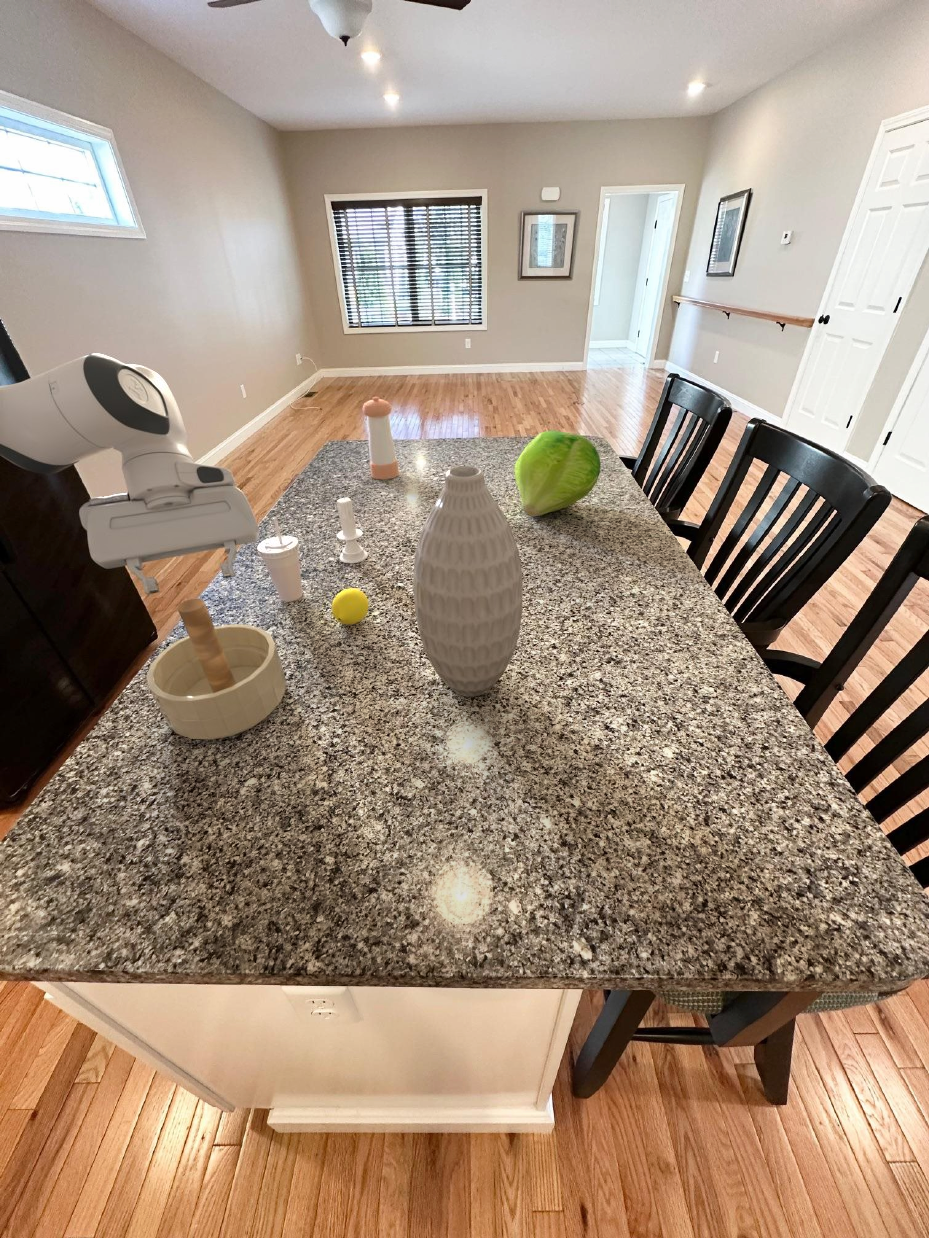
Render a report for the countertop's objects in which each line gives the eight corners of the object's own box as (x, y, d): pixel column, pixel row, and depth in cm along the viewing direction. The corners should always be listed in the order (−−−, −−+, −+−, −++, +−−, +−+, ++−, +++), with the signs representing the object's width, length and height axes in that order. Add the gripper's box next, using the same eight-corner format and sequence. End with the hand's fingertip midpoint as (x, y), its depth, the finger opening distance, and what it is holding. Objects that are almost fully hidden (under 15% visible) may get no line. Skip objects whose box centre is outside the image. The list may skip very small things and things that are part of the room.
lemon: (348, 606, 83) (342, 577, 80) (378, 611, 82) (373, 582, 79) (326, 631, 78) (319, 601, 75) (357, 636, 77) (352, 606, 74)
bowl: (176, 762, 58) (152, 719, 54) (162, 689, 68) (142, 648, 64) (301, 712, 64) (288, 669, 60) (271, 652, 74) (259, 612, 70)
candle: (373, 554, 98) (365, 494, 91) (354, 566, 94) (343, 504, 88) (353, 548, 101) (343, 489, 94) (333, 559, 97) (321, 499, 90)
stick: (218, 706, 64) (179, 614, 56) (214, 693, 66) (176, 603, 58) (241, 698, 65) (206, 606, 57) (236, 685, 67) (202, 595, 59)
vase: (495, 728, 61) (496, 503, 45) (404, 697, 66) (375, 483, 50) (533, 665, 70) (545, 460, 54) (451, 642, 75) (439, 447, 59)
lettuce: (488, 503, 116) (502, 465, 100) (536, 442, 121) (557, 396, 105) (549, 547, 116) (573, 516, 100) (594, 483, 121) (625, 444, 105)
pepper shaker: (366, 478, 133) (355, 400, 122) (377, 469, 139) (367, 393, 128) (393, 480, 131) (384, 400, 120) (402, 470, 137) (394, 394, 126)
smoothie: (313, 600, 85) (294, 522, 77) (273, 609, 83) (250, 530, 75) (308, 582, 90) (290, 507, 82) (270, 590, 88) (248, 514, 80)
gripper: (66, 490, 63) (93, 597, 62) (242, 467, 71) (269, 562, 70) (84, 510, 69) (109, 607, 68) (244, 486, 76) (269, 574, 75)
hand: (192, 584), depth 69 cm, fingers open, 8 cm apart
